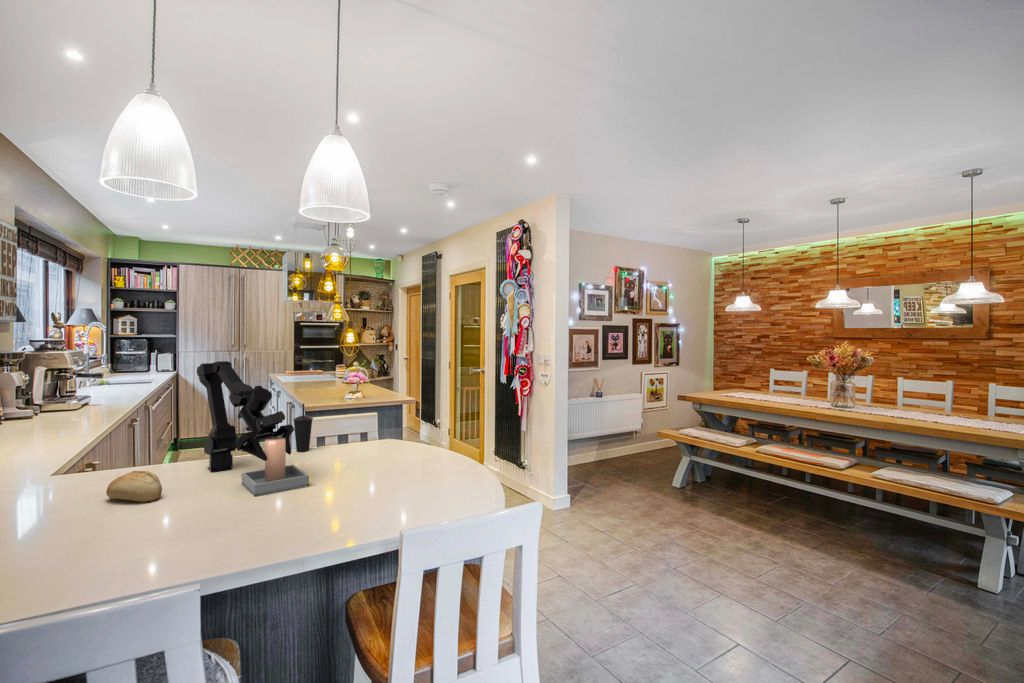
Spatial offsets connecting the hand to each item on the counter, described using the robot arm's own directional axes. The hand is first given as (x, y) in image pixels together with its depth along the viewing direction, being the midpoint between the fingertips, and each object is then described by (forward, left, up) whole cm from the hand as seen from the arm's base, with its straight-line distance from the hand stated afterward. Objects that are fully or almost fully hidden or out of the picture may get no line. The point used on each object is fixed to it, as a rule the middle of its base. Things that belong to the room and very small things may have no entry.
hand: (278, 456), depth 154 cm
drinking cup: (+21, +42, -10) cm, 48 cm away
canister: (0, +1, -8) cm, 9 cm away
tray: (-1, +1, -9) cm, 10 cm away
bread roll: (-36, +12, -10) cm, 39 cm away
